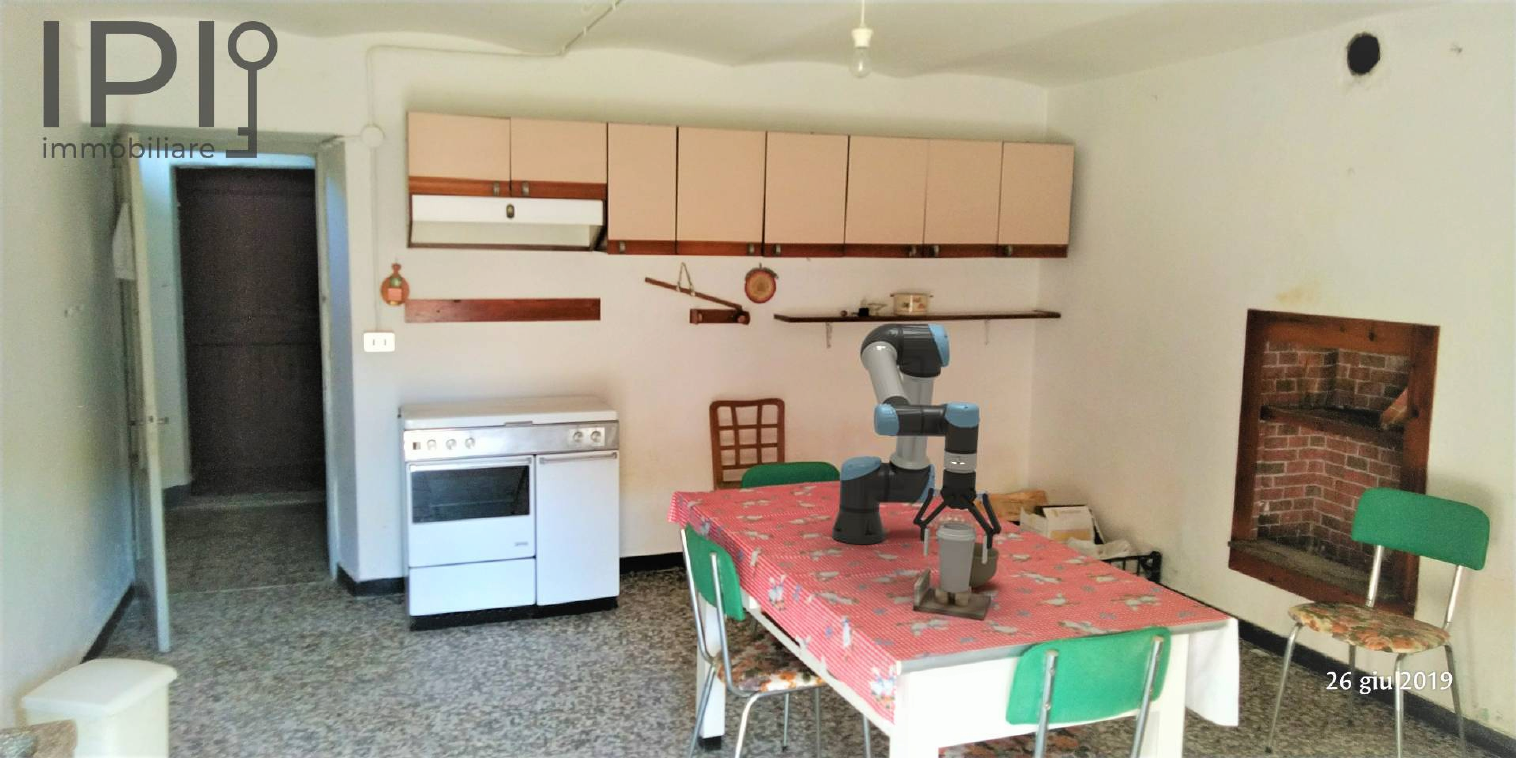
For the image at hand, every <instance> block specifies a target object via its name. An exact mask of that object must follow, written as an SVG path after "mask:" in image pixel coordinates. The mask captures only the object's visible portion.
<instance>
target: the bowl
mask: <svg viewBox="0 0 1516 758" xmlns="http://www.w3.org/2000/svg"><path fill="white" fill-rule="evenodd" d="M999 556H1000V551H999V550H998V549H997V548H996V547H994V546H992V548H991V549H988V551H987V561H986V564H984V563H982V557H983V542H979V541H975V544H974V551H973V558H972V565H971V572H970V579H969V586H971V589H972V588H974V589H975V588H979V587H980V586H981V585H983V584H985V583H987V582H989V581H990V580H991V579H992V578H993V577H994V576H996V573H997V567H998V560H999Z"/></svg>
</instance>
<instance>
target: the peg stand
mask: <svg viewBox="0 0 1516 758" xmlns="http://www.w3.org/2000/svg"><path fill="white" fill-rule="evenodd" d="M931 571H932V569H931V568H927V567H925V569H924V570H923V572H922V573H921V575H920V576H919V578H918V579H917V581H916V582H915V584H914V585H913V586H914V587H913V588H914V589H913V606H912V611H915V612H921V613H922V612H923V613H929V614H930V613H931V614H936V615H937V614H938V615H944V616H948V617H949V616H951V617H957V618H963V619H964V618H965V619H972V620H976V621H977V620H978V621H984V619H985V617H986V615H987V612H988V610H989V607H990V604H991V602H992V596H991V595H984V594H983V595H982V594H976V593H972V588H971V586H968V591H966V592H963V593H951V592H946V591H944V590H942V589H941V588H940V582H939V583H938V588H934V587H933V588H932V587H930V586H931Z"/></svg>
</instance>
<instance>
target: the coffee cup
mask: <svg viewBox="0 0 1516 758" xmlns="http://www.w3.org/2000/svg"><path fill="white" fill-rule="evenodd" d="M935 534H936V536H937V539H938V540H937V543H938V544H937V545H938V571H939V583H940V588H941V589H942V590H944V591H946V592H951V593H963V592H966V591H968V586H969V579H970V572H971V565H972V558H973V551H974V544H975V542H976V540H977V539H978V538H979V537H978V533H977V531H976V528H975V526H973V525H972V524H970V523H965V522H959V521H957V522H956V521H949V522H948V521H945V522H942V523H941V524H939V527H938V528H937V530H936V533H935Z"/></svg>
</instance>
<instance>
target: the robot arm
mask: <svg viewBox="0 0 1516 758" xmlns="http://www.w3.org/2000/svg"><path fill="white" fill-rule="evenodd" d="M859 351H860V354H859V356H860V360H861V363H862V366H863V367H864V370H866V371H868V375H869V378H870V381H871V385H872V388H873V391H874V392H873V393H874V394H875V398H876V402H877V405H876V406H875V407H874V410H873V411H874V412H873V427H874V432H875V433H876V434H877V435H879V436H888V437H896V444H895V451H893V452H892V453H891V454H890V455H889V458H888V459H889V462H883V461H882V458H880V457H878V456H869V455H865V456H857V457H851V458H848V459H846V460H844V461H843V463H842V464H841V466H840V473H839V480H840V481H839V483H840V484H839V501H838V502H839V504H838V505H839V506H838V507H839V509H838V512H837V515H836V517H835V521H834V524H833V526H832V530H831V532H832V533H831V537H832V538H833V539H834V540H836V541H838V542H842V543H846V544H851V545H874V544H879V543H882V542H883V541H884V540H885V528H884V525H883V522H882V517H881V513H880V504H881V503H882V504H883V503H884V504H885V503H886V504H911V505H912V504H913V505H915V504H922V506H921V507H920V509H919V510H918V512H917V513H916V515H915V517H914V519H913V521H912V523H913V525H916V526H918V527H919V529H920V533H919V534H920V535H919V539H920V541H921V542H923V543H924V544H923V557H928V555H929V553H930V540H931V539H930V537H931V526H929V524H931V522H932V521H933V520H934V519H935V518H936V517H937V516H938V515H939V514H940V513H942V511H943V510H945V509H946V507H948V508H950V509H951V510H957V509H958V510H960V511H964V510H968V512H969V513H970V514H971V515H972V516H973V517H974V519H975V520H976V522H977V523H978V524H979V525H980V527H981V528H982V530H984V535H983V540H982V543H983V557H982V563H984V564H986V561H987V551H988V549H991V548H992V547H994V546H993V543H994V536H995V535H1000V534H1001V532H1002V526H1001V523H1000V522H999V518H998V517H997V515H996V512H995V510H994V508H993V506H992V503H991V501H990V492H988V491H987V490H986V491H984V492H977V490H976V481H977V480H976V479H977V472H976V471H975V470H976V469H977V466H978V463H977V462H978V445H979V443H978V442H979V427H980V422H981V419H980V418H981V417H980V407H979V406H978V404H975V403H971V402H966V401H965V402H964V401H963V402H962V401H953V402H949V403H948V402H944V403H941V404H939V405H937V404H932V402H933V395H934V394H933V393H934V384H935V379H936V378H938V377H939V376H941V374H942V373H941V372H942V368H946V367H948V366H949V363H950V352H951V351H950V342H949V338H948V334H947V331H946V329H945V328H944V326H943V325H940V324H934V323H933V324H931V323H897V322H888V323H884V324H881V325H879V326H877V327H875V328H873V329H872V330H871V331H870V332H869V333H868V334H867V335H866V336H865V338H864V339H863V340H862V343H861V346H860V350H859ZM901 375H902V376H901ZM928 437H937V438H938V437H939V438H941V437H944V453H943V467H944V469H943V470H942V487H941V488H937V487H935V483H936V479H935V477H936V471H935V470H936V469H935V466H934V464H933V463H931V459H930V457H929V456H928V455H927V447H928V439H929V438H928ZM938 495H940V497H941V499H942V502H941V503H940V504H939V505H938V506H937V507H936V508H935V509H934V510H933V511H932V512H931V513H930V514H929V515H928V516H927V517H926V518H925V519H924V520H922V518H923V516H924V515H925V513H926V512H927V509H928V507H930V504H931V502H932V501H933V499H934V498H936V497H937V496H938ZM976 499H978V500H979V502H981V503H982V505H983V507H984V511H985V513H986V515H987V517H988V519H989V521H990V524H991V525H990V524H989V522H988V521H987V520H986V518H985V517H984V516H983V514H982V513H981V512H980V510H979V509H978V508H977V506H976V504H975V502H974V501H975V500H976Z"/></svg>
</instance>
